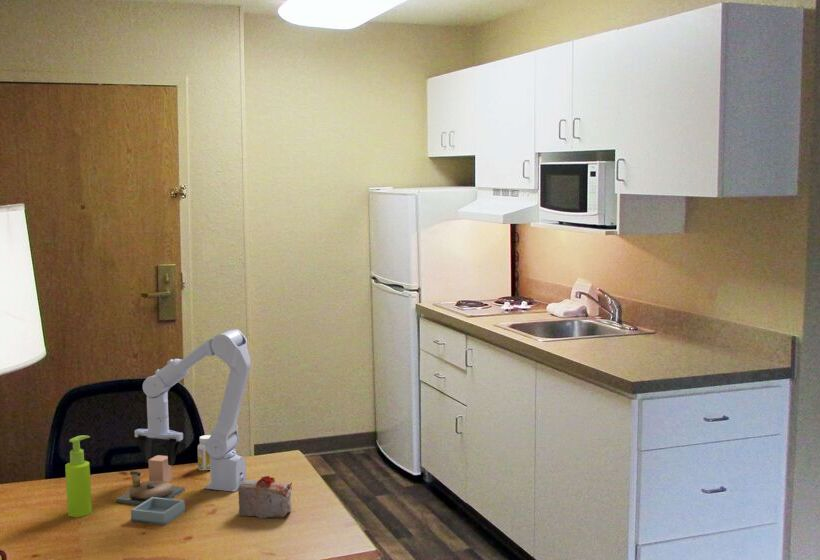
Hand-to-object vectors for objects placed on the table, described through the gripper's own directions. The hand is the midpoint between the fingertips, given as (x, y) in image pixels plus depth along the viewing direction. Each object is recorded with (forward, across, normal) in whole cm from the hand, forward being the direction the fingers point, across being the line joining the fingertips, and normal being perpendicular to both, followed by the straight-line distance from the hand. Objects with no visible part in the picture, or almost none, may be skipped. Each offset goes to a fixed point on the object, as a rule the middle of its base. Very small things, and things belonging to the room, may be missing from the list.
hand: (159, 463), depth 255 cm
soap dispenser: (+6, -7, -26) cm, 27 cm away
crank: (+4, +4, -11) cm, 12 cm away
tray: (+5, +14, -23) cm, 28 cm away
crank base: (+6, +4, -11) cm, 13 cm away
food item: (+6, +40, -14) cm, 43 cm away
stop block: (+6, 0, 0) cm, 6 cm away
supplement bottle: (+6, +7, +14) cm, 17 cm away
